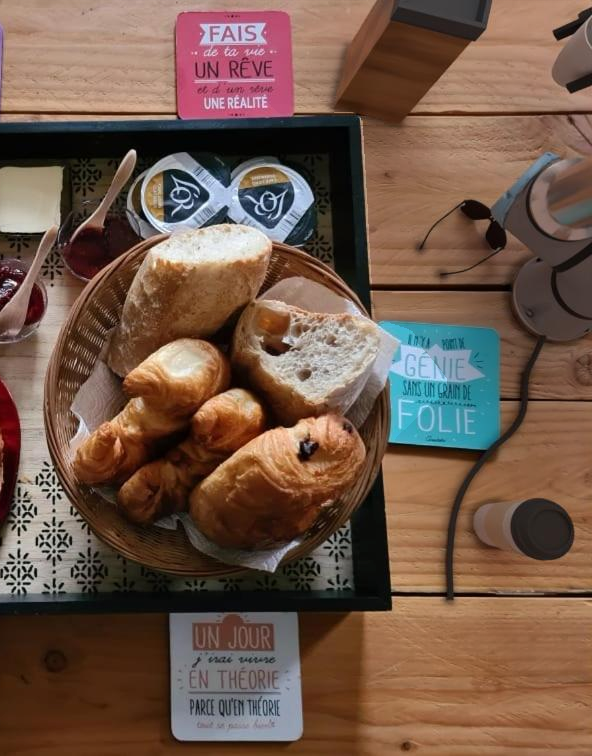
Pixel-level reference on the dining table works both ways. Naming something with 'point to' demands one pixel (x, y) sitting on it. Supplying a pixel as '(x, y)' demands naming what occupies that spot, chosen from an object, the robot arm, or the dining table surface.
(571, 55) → the cup
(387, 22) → the stand
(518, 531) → the coffee cup
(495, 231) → the sunglasses
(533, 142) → the dining table surface
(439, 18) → the tray
